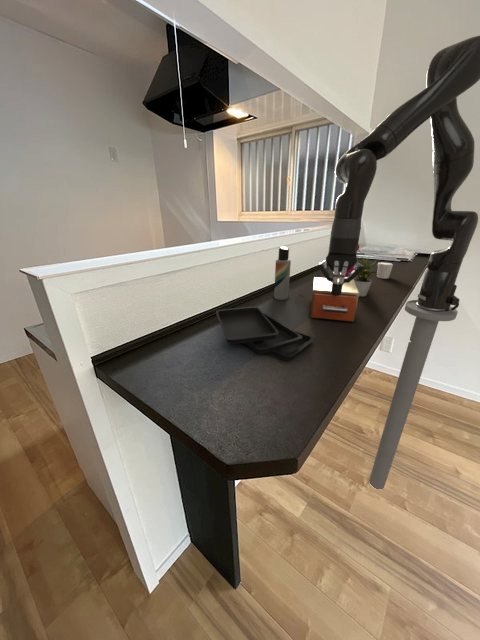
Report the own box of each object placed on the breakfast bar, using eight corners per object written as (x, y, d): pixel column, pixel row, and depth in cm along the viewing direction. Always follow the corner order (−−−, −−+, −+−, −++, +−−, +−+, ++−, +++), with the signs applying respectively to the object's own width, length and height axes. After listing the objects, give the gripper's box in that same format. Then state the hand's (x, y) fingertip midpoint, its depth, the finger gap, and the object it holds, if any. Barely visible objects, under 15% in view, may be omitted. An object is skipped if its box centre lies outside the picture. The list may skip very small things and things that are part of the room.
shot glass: (380, 279, 131) (383, 265, 129) (372, 275, 138) (375, 262, 135) (393, 278, 132) (396, 264, 129) (385, 275, 138) (388, 261, 135)
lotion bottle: (281, 294, 111) (283, 245, 102) (291, 298, 106) (294, 247, 98) (271, 297, 107) (273, 247, 99) (281, 301, 103) (284, 249, 95)
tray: (320, 336, 76) (322, 319, 74) (290, 378, 58) (291, 358, 56) (233, 315, 90) (233, 301, 88) (187, 344, 72) (185, 327, 70)
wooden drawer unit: (354, 327, 79) (359, 302, 75) (311, 323, 82) (314, 299, 79) (348, 305, 96) (352, 284, 93) (313, 302, 99) (315, 281, 96)
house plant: (331, 291, 114) (337, 252, 108) (356, 287, 119) (362, 250, 113) (356, 301, 102) (364, 259, 96) (382, 296, 107) (391, 256, 101)
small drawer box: (353, 322, 85) (359, 293, 81) (309, 317, 88) (312, 289, 84) (349, 305, 98) (353, 279, 95) (311, 302, 102) (314, 277, 98)
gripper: (320, 236, 71) (313, 297, 78) (373, 237, 68) (360, 301, 75) (320, 233, 78) (313, 289, 85) (368, 234, 74) (357, 293, 82)
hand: (335, 294), depth 80 cm, fingers closed
